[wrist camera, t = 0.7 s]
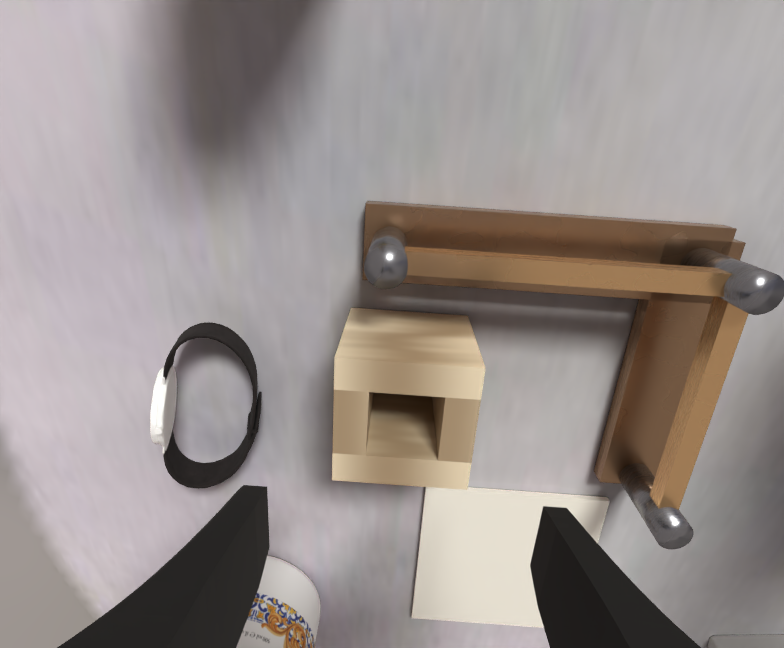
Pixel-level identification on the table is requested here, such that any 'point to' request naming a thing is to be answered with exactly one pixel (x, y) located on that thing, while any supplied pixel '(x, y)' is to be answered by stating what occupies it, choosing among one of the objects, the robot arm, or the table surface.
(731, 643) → the lighter
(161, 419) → the watch
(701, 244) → the wooden rail
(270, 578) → the bath foam
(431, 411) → the hollow wooden cube
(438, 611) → the coaster
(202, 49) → the table surface
